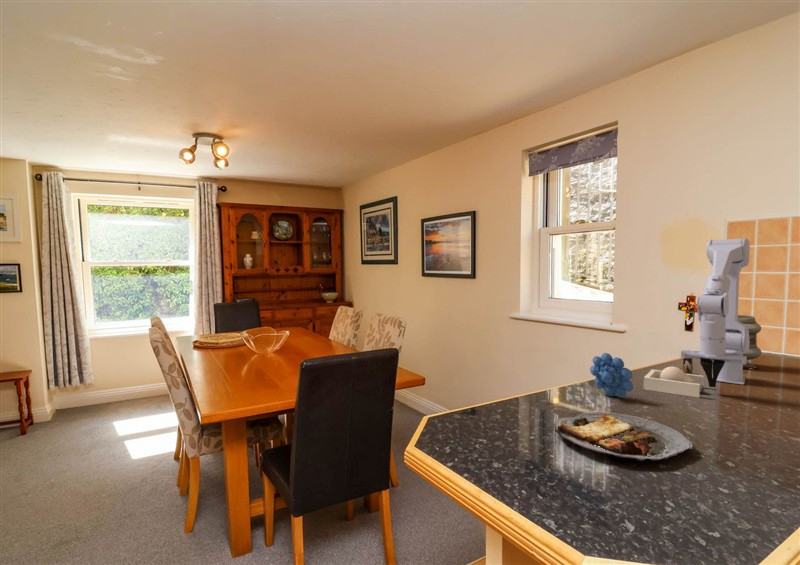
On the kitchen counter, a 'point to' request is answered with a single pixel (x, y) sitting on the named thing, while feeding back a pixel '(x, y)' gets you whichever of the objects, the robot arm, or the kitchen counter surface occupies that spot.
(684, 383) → the socket cradle
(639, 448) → the food plate
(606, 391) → the grapes
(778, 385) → the kitchen counter surface
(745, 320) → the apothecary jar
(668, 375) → the light bulb
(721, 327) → the robot arm
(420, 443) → the kitchen counter surface
